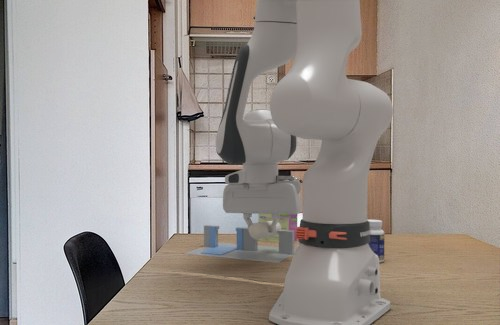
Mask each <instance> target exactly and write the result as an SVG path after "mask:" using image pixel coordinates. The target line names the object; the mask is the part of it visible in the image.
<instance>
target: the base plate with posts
mask: <svg viewBox="0 0 500 325" xmlns="http://www.w3.org/2000/svg"><path fill="white" fill-rule="evenodd" d="M219 229H220V225H212V224H205V225H203V246H201V247H198V248H195V249H192V250H189V251H186V252H183V255H192V256H193V255H194V256H204V257H215V258H223V259H234V260H242V261H243V260H245V261H254V262H264V263H273V264H274V263H275V264H278V263H280V262H282V261H283V260H284V261H285V259H288V258H289V257H291V256H294V254H295V250H296V249H297V248H295V242H294V231H289V230H278V231H277V234H279V243H278V246H268V245H267V246H266V245H259V243H258V241H259V240H258V239H257V240H256V239H253V238H252V237H251V236H250V234H249V232H248V227H244V226H243V227H241V226H240V227H239V226H238V227H235V231H236V242H235V243H233V242H220V241H219Z"/></svg>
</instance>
